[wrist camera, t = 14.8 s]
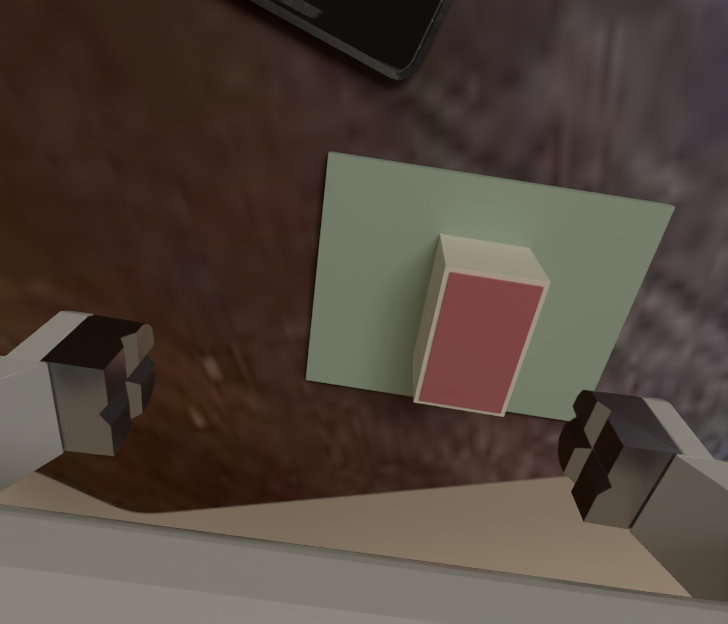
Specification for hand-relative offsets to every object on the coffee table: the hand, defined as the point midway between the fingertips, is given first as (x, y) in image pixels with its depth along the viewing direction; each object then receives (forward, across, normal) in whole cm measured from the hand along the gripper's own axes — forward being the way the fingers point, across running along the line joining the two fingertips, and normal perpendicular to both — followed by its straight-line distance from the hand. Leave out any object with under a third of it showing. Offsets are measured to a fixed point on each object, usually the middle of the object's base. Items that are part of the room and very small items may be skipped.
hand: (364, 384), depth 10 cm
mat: (+22, -7, +8) cm, 24 cm away
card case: (+21, -7, +8) cm, 24 cm away
